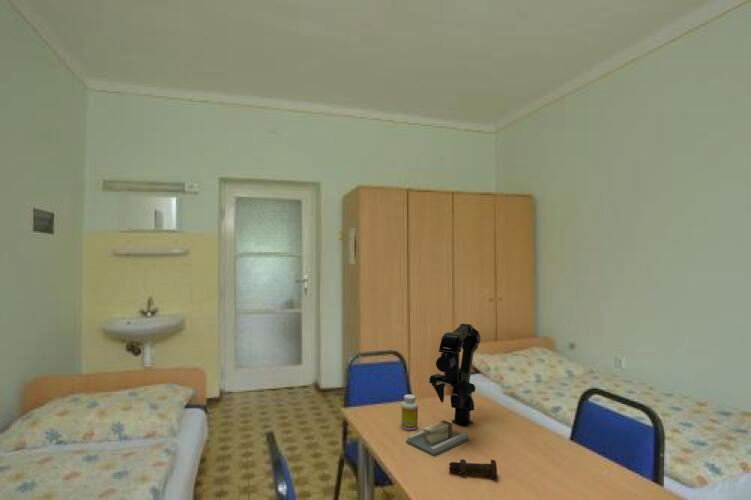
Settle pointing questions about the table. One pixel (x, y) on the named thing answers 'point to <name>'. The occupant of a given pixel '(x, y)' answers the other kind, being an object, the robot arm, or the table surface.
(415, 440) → the cradle
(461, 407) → the robot arm
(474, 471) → the bolt
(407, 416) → the supplement bottle
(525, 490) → the table surface
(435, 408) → the table surface
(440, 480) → the table surface
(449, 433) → the banded block
